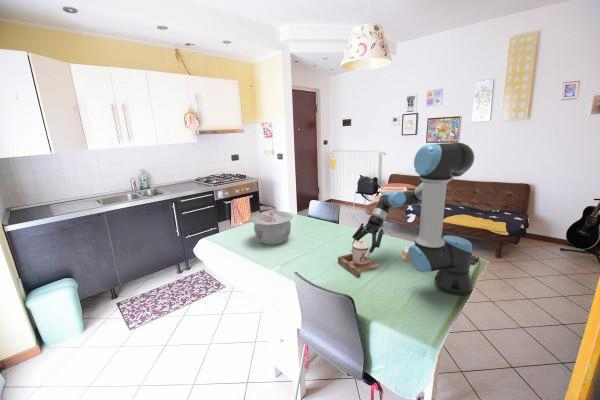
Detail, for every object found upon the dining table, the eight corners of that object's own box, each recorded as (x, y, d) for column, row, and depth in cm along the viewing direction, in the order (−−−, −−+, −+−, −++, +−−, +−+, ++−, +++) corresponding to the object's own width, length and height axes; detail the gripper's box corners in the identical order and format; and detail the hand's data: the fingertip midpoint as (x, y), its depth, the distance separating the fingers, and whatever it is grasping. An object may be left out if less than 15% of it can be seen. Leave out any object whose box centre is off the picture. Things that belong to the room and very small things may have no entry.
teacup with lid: (361, 266, 142) (361, 245, 139) (348, 260, 149) (348, 240, 146) (376, 259, 149) (377, 239, 146) (363, 253, 156) (364, 234, 153)
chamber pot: (279, 252, 169) (276, 220, 164) (244, 245, 183) (241, 215, 178) (301, 236, 193) (300, 207, 188) (269, 230, 206) (267, 204, 201)
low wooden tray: (384, 269, 145) (384, 263, 144) (357, 277, 138) (357, 271, 137) (362, 255, 160) (362, 250, 160) (338, 262, 154) (337, 256, 153)
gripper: (397, 226, 146) (379, 264, 140) (364, 217, 162) (346, 251, 157) (392, 219, 141) (373, 258, 136) (358, 210, 157) (339, 245, 152)
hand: (358, 254), depth 146 cm, fingers closed on teacup with lid, 9 cm apart
